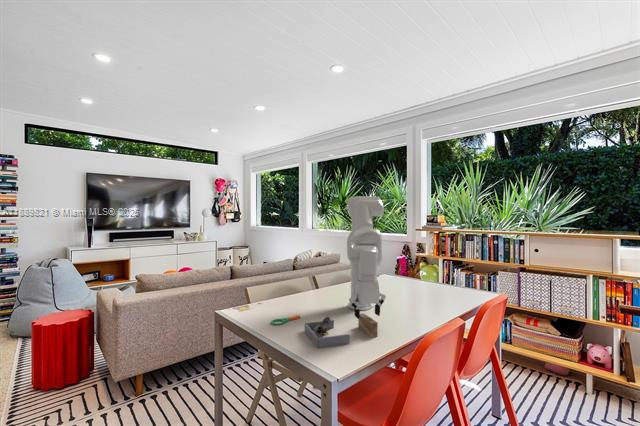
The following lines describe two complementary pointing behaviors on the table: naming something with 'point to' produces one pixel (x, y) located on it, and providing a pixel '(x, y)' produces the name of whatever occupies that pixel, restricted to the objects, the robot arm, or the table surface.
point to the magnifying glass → (284, 320)
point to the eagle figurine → (323, 326)
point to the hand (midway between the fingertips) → (367, 316)
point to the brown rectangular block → (368, 325)
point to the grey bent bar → (325, 340)
